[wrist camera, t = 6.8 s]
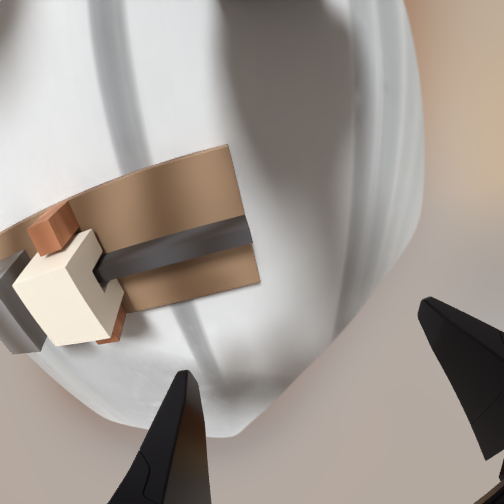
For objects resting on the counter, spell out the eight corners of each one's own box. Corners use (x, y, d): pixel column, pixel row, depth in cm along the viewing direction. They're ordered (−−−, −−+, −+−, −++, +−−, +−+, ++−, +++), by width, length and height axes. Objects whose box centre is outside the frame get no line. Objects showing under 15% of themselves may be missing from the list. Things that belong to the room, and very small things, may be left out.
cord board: (227, 144, 16) (237, 165, 11) (258, 273, 22) (275, 330, 16) (-11, 238, 16) (-48, 278, 11) (41, 324, 21) (20, 370, 16)
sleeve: (91, 228, 16) (64, 267, 12) (124, 292, 19) (110, 338, 15) (41, 247, 16) (11, 285, 12) (74, 304, 19) (56, 346, 15)
